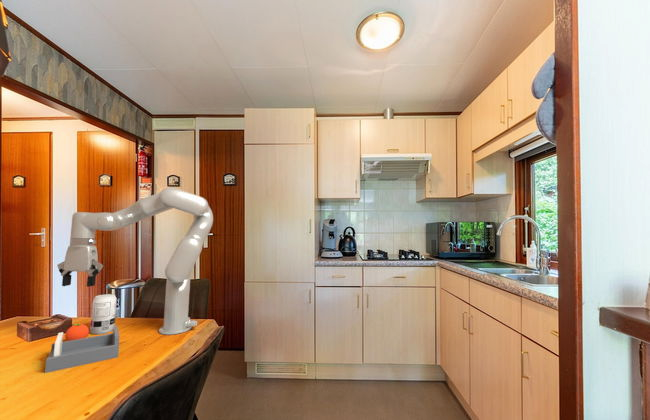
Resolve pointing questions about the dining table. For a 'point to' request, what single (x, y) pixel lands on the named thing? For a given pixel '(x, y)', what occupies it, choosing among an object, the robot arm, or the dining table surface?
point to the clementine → (77, 332)
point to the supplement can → (103, 314)
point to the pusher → (58, 344)
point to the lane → (84, 351)
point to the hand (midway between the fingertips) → (78, 285)
